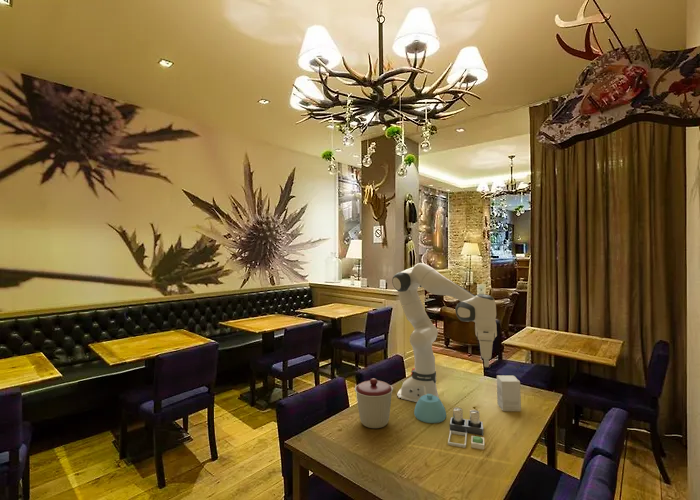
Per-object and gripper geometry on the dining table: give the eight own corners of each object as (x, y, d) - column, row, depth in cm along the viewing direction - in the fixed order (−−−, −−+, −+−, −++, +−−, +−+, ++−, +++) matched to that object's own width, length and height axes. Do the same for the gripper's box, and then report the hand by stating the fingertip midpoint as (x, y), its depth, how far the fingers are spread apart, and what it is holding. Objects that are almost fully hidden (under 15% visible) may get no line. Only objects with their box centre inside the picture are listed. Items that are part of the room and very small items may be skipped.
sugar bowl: (447, 427, 162) (446, 402, 161) (414, 424, 165) (413, 400, 164) (445, 412, 176) (444, 389, 176) (414, 410, 179) (414, 387, 179)
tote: (447, 447, 145) (447, 442, 145) (450, 435, 154) (450, 430, 154) (465, 450, 143) (465, 445, 143) (467, 438, 152) (466, 433, 152)
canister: (400, 419, 169) (399, 376, 169) (382, 437, 154) (381, 389, 154) (367, 411, 179) (366, 369, 179) (347, 426, 164) (347, 381, 164)
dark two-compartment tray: (449, 432, 157) (449, 424, 157) (451, 424, 164) (450, 416, 164) (483, 438, 152) (483, 429, 151) (483, 429, 159) (483, 421, 159)
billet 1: (453, 428, 158) (452, 410, 158) (453, 424, 162) (453, 406, 162) (462, 430, 156) (462, 411, 156) (463, 425, 160) (462, 407, 160)
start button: (473, 446, 144) (473, 439, 144) (473, 441, 147) (473, 435, 147) (482, 447, 143) (482, 441, 143) (482, 443, 146) (482, 437, 146)
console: (471, 450, 143) (470, 442, 143) (471, 442, 148) (471, 435, 148) (484, 452, 141) (484, 445, 141) (484, 444, 147) (484, 437, 147)
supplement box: (514, 403, 184) (514, 375, 184) (521, 411, 175) (520, 381, 175) (496, 403, 185) (496, 374, 185) (502, 411, 176) (501, 381, 176)
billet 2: (469, 431, 155) (469, 412, 155) (470, 426, 159) (469, 408, 159) (479, 432, 154) (479, 414, 154) (479, 428, 158) (479, 410, 158)
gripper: (478, 326, 166) (479, 355, 166) (477, 336, 147) (478, 369, 147) (493, 327, 164) (493, 356, 164) (494, 337, 145) (494, 371, 145)
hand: (486, 363), depth 155 cm, fingers open, 8 cm apart
